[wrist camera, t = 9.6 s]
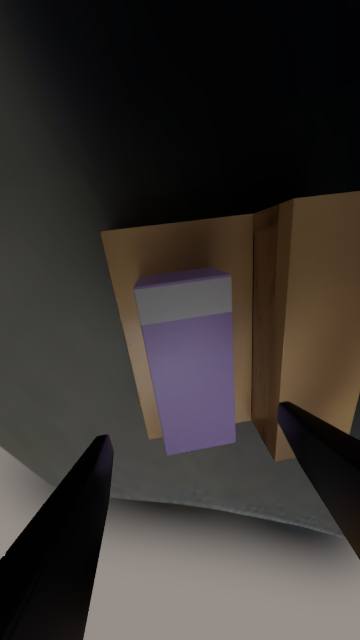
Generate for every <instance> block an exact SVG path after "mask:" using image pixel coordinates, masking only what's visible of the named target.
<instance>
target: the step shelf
mask: <svg viewBox="0 0 360 640" xmlns="http://www.w3.org/2000/svg"><path fill="white" fill-rule="evenodd" d="M100 234H101V238H102V243H103V247H104V251H105V255H106V260H107V264H108V268H109V272H110V277H111V281H112V285H113V289H114V294H115V298H116V302H117V306H118V311H119V315H120V319H121V323H122V328H123V332H124V336H125V340H126V345H127V349H128V353H129V357H130V362H131V366H132V370H133V374H134V379H135V383H136V387H137V391H138V396H139V400H140V404H141V408H142V413H143V417H144V421H145V425H146V430H147V434H148V438H149V440H151V439H156V438H161V437H163V433H162V428H161V423H160V418H159V413H158V408H157V404H156V399H155V394H154V389H153V384H152V379H151V374H150V369H149V364H148V359H147V354H146V349H145V344H144V339H143V334H142V330H141V325H140V321H139V317H138V312H137V307H136V302H135V297H134V292H133V287H134V285H135V284H136V282H137V280H138V279H139V277H142V276H149V275H156V274H164V273H171V272H179V271H186V270H194V269H201V268H208V267H211V268H214V269H217V270H220V271H224V272H227V273H230V274H231V282H232V328H233V363H234V399H235V423H240V422H246V421H251V420H252V422H253V424H254V425H255V427H256V429H257V431H258V433H259V434H260V436H261V438H262V440H263V441H264V443H265V445H266V447H267V449H268V450H269V452H270V454H271V456H272V458H273V459H274V461H275V462H277V461H282V460H287V459H292V458H296V457H295V455H294V453H293V451H292V449H291V447H290V445H289V443H288V441H287V439H286V437H285V435H284V433H283V431H282V429H281V427H280V425H279V423H278V421H277V410H278V404H279V403H280V402H285V401H289V402H291V403H293V404H295V405H297V406H299V407H300V408H302V409H304V410H306V411H308V412H309V413H311V414H313V415H315V416H317V417H318V418H320V419H322V420H324V421H326V422H327V423H329V424H331V425H333V426H335V427H336V428H338V429H340V430H342V431H344V432H345V433H347V434H349V433H350V429H351V425H352V421H353V417H354V413H355V409H356V405H357V401H358V397H359V392H360V191H356V192H347V193H338V194H329V195H320V196H311V197H302V198H294V199H291V200H289V201H286V202H283V203H281V204H278V205H275V206H273V207H270V208H267V209H265V210H262V211H260V212H257V213H254V214H246V215H237V216H228V217H220V218H211V219H202V220H194V221H185V222H176V223H168V224H159V225H151V226H142V227H133V228H125V229H116V230H107V231H101V232H100ZM253 234H254V283H253ZM252 302H253V366H252Z"/></svg>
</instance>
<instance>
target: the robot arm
mask: <svg viewBox="0 0 360 640" xmlns="http://www.w3.org/2000/svg"><path fill="white" fill-rule="evenodd" d="M277 421H278V423H279V425H280V427H281V429H282V431H283V433H284V435H285V437H286V439H287V441H288V443H289V445H290V447H291V449H292V451H293V453H294V455H295V457H296V458H297V460H298V462H299V464H300V465H301V467H302V469H303V470H304V472H305V474H306V475H307V477H308V478H309V480H310V482H311V483H312V485H313V486H314V488H315V489H316V491H317V493H318V494H319V496H320V497H321V499H322V501H323V502H324V504H325V505H326V507H327V509H328V510H329V512H330V513H331V515H332V516H333V518H334V520H335V521H336V523H337V524H338V526H339V528H340V529H341V531H342V532H343V534H344V535H345V537H346V539H347V540H348V542H349V543H350V545H351V546H352V548H353V550H354V551H355V553H356V554H357V556H358V558H359V559H360V440H358V439H356V438H354V437H353V436H351V435H349V434H347V433H345V432H344V431H342V430H340V429H338V428H336V427H335V426H333V425H331V424H329V423H327V422H326V421H324V420H322V419H320V418H318V417H317V416H315V415H313V414H311V413H309V412H308V411H306V410H304V409H302V408H300V407H299V406H297V405H295V404H293V403H291V402H289V401H285V402H280V403H279V404H278V410H277ZM113 455H114V452H113V447H112V444H111V441H110V438H109V435H107V434H105V435H100V436H97V437H96V438H95V439H94V440H93V442H92V443H91V444H90V446H89V447H88V448H87V449H86V451H85V452H84V453H83V455H82V456H81V457H80V458H79V460H78V461H77V462H76V463H75V465H74V466H73V467H72V469H71V470H70V471H69V472H68V474H67V475H66V476H65V478H64V479H63V480H62V481H61V483H60V484H59V485H58V486H57V488H56V489H55V490H54V492H53V493H52V494H51V495H50V497H49V498H48V499H47V501H46V502H45V503H44V504H43V506H42V507H41V508H40V510H39V511H38V512H37V513H36V515H35V516H34V517H33V518H32V520H31V521H30V522H29V524H28V525H27V526H26V528H25V529H24V530H23V532H22V533H21V534H20V535H19V536H18V538H17V539H16V540H15V542H14V543H13V544H12V545H11V547H10V548H9V549H8V550H7V552H6V554H5V556H3V557H2V558H1V559H0V640H83V637H84V632H85V627H86V621H87V616H88V611H89V606H90V600H91V595H92V590H93V585H94V579H95V574H96V568H97V563H98V558H99V553H100V548H101V542H102V537H103V532H104V526H105V521H106V516H107V510H108V504H109V496H110V486H111V476H112V466H113Z"/></svg>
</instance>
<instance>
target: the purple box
mask: <svg viewBox="0 0 360 640" xmlns="http://www.w3.org/2000/svg"><path fill="white" fill-rule="evenodd" d="M133 292H134V297H135V302H136V307H137V312H138V317H139V321H140V325H141V330H142V334H143V339H144V344H145V349H146V354H147V359H148V364H149V369H150V374H151V379H152V384H153V389H154V394H155V399H156V404H157V408H158V413H159V418H160V423H161V428H162V433H163V438H164V443H165V448H166V453H167V456H169V455H174V454H179V453H184V452H189V451H194V450H199V449H204V448H209V447H214V446H220V445H225V444H230V443H235V442H236V434H235V399H234V363H233V328H232V282H231V274H230V273H227V272H224V271H220V270H217V269H214V268H211V267H208V268H201V269H194V270H186V271H179V272H171V273H164V274H156V275H149V276H142V277H139V279H138V280H137V282H136V284H135V285H134V287H133Z"/></svg>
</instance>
